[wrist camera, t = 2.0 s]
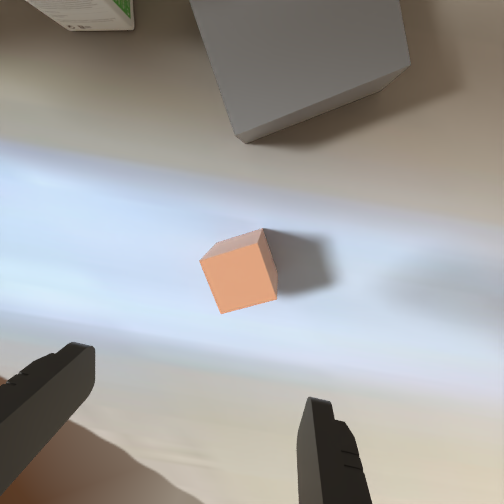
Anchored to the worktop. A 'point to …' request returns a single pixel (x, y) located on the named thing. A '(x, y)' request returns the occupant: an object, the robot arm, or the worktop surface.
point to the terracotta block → (241, 271)
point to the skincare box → (88, 14)
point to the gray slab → (298, 56)
